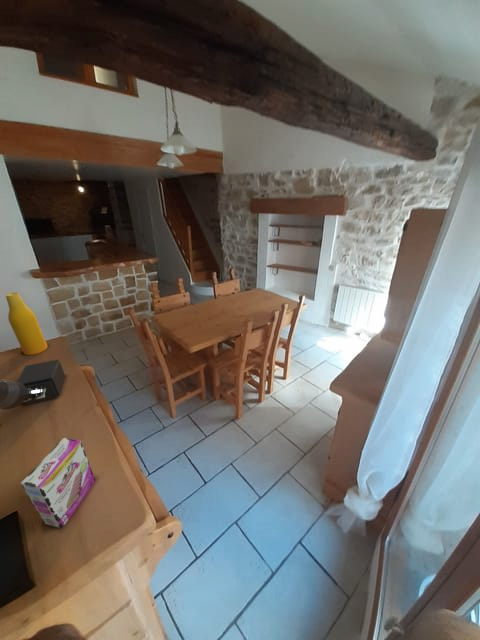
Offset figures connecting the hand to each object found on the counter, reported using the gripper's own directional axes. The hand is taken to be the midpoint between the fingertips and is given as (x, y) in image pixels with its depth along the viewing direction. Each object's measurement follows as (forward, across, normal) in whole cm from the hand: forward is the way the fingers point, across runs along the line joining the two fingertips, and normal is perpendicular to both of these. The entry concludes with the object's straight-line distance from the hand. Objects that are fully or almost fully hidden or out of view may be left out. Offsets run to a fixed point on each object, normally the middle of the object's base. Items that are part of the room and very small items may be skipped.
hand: (32, 397), depth 83 cm
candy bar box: (-20, -15, +31) cm, 40 cm away
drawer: (+10, 0, -1) cm, 10 cm away
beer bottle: (+36, +11, -27) cm, 47 cm away
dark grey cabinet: (+13, 0, -3) cm, 13 cm away
